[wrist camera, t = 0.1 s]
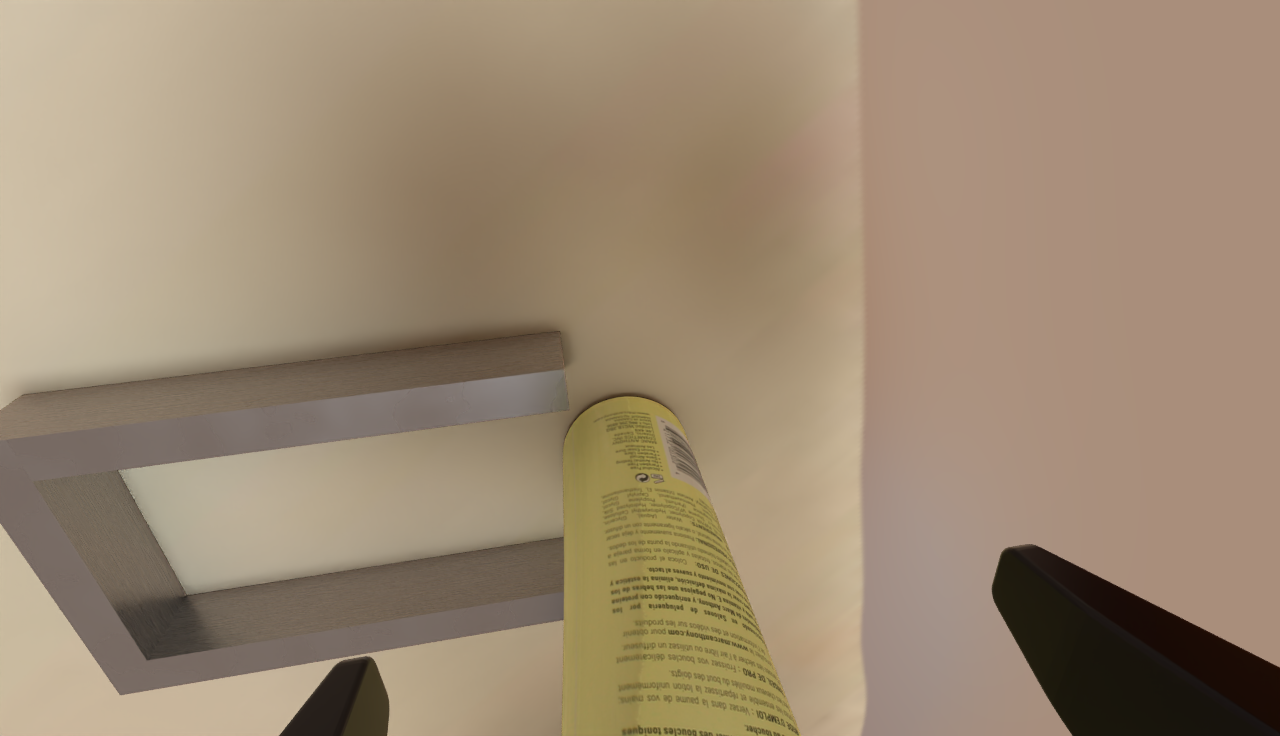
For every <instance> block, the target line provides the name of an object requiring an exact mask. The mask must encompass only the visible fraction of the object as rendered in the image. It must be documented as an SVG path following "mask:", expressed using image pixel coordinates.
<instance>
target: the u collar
mask: <svg viewBox="0 0 1280 736" xmlns="http://www.w3.org/2000/svg"><path fill="white" fill-rule="evenodd" d="M565 410H569V403H568V394H567V385H566V376H565V367H564V360H563V352H562V345H561V337H560V331H557V332H548V333H540V334H531V335H523V336H515V337H506V338H498V339H489V340H481V341H473V342H464V343H456V344H447V345H439V346H431V347H422V348H414V349H405V350H397V351H389V352H380V353H372V354H363V355H355V356H347V357H338V358H330V359H321V360H313V361H305V362H296V363H288V364H279V365H271V366H263V367H254V368H246V369H237V370H229V371H221V372H212V373H204V374H195V375H187V376H179V377H170V378H162V379H153V380H145V381H137V382H128V383H120V384H111V385H103V386H95V387H86V388H78V389H69V390H61V391H53V392H44V393H36V394H27V395H22V396H20V397H19V398H17V399H16V400H14V401H13V402H12V403H10V404H9V405H7V406H6V407H4V408H3V409H1V410H0V523H1V525H2V526H3V527H4V529H5V530H6V532H7V533H8V535H9V536H10V538H11V539H12V540H13V542H14V543H15V545H16V546H17V548H18V549H19V550H20V552H21V553H22V555H23V556H24V558H25V559H26V561H27V562H28V563H29V565H30V566H31V568H32V569H33V571H34V572H35V573H36V575H37V576H38V578H39V579H40V581H41V582H42V584H43V585H44V586H45V588H46V589H47V591H48V592H49V594H50V595H51V596H52V598H53V599H54V601H55V602H56V604H57V605H58V607H59V608H60V609H61V611H62V612H63V614H64V615H65V617H66V618H67V619H68V621H69V622H70V624H71V625H72V627H73V628H74V630H75V631H76V632H77V634H78V635H79V637H80V638H81V640H82V641H83V642H84V644H85V645H86V647H87V648H88V650H89V651H90V653H91V654H92V655H93V657H94V658H95V660H96V661H97V663H98V664H99V665H100V667H101V668H102V670H103V671H104V673H105V674H106V676H107V677H108V678H109V680H110V681H111V683H112V684H113V686H114V687H115V688H116V690H117V691H118V693H119V694H120V695H125V694H130V693H136V692H142V691H148V690H154V689H160V688H166V687H172V686H177V685H183V684H189V683H195V682H201V681H207V680H213V679H219V678H225V677H230V676H236V675H242V674H248V673H254V672H260V671H266V670H272V669H277V668H283V667H289V666H295V665H301V664H307V663H313V662H319V661H324V660H330V659H336V658H342V657H348V656H354V655H360V654H366V653H372V652H377V651H383V650H389V649H395V648H401V647H407V646H413V645H419V644H424V643H430V642H436V641H442V640H448V639H454V638H460V637H466V636H472V635H477V634H483V633H489V632H495V631H501V630H507V629H513V628H519V627H524V626H530V625H536V624H542V623H548V622H554V621H560V620H564V537H562V538H555V539H549V540H543V541H536V542H530V543H523V544H517V545H510V546H504V547H497V548H491V549H485V550H478V551H472V552H465V553H459V554H452V555H446V556H440V557H433V558H427V559H420V560H414V561H407V562H401V563H395V564H388V565H382V566H375V567H369V568H362V569H356V570H350V571H343V572H337V573H330V574H324V575H317V576H311V577H305V578H298V579H292V580H285V581H279V582H272V583H266V584H260V585H253V586H247V587H240V588H234V589H227V590H221V591H214V592H208V593H202V594H195V595H189V596H187V595H186V593H185V591H184V590H183V588H182V586H181V584H180V582H179V581H178V579H177V577H176V575H175V573H174V572H173V570H172V568H171V566H170V564H169V563H168V561H167V559H166V557H165V555H164V554H163V552H162V550H161V548H160V546H159V545H158V543H157V541H156V539H155V537H154V536H153V534H152V532H151V530H150V528H149V527H148V525H147V523H146V521H145V519H144V518H143V516H142V514H141V512H140V510H139V509H138V507H137V505H136V503H135V501H134V500H133V498H132V496H131V494H130V492H129V490H128V489H127V487H126V485H125V483H124V481H123V480H122V478H121V476H120V474H119V472H118V471H117V470H122V469H130V468H137V467H145V466H152V465H160V464H167V463H175V462H182V461H190V460H197V459H205V458H213V457H220V456H228V455H235V454H243V453H250V452H258V451H265V450H273V449H280V448H288V447H295V446H303V445H310V444H318V443H325V442H333V441H340V440H348V439H355V438H363V437H370V436H378V435H385V434H393V433H400V432H408V431H415V430H423V429H430V428H438V427H445V426H453V425H460V424H468V423H475V422H483V421H490V420H498V419H505V418H513V417H520V416H528V415H535V414H543V413H550V412H558V411H565Z"/></svg>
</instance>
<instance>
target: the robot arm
mask: <svg viewBox="0 0 1280 736" xmlns="http://www.w3.org/2000/svg"><path fill="white" fill-rule="evenodd" d="M992 595H993V599H994V602H995V604H996V606H997V608H998V610H999V612H1000V613H1001V615H1002V617H1003V619H1004V621H1005V622H1006V624H1007V626H1008V628H1009V630H1010V631H1011V633H1012V635H1013V637H1014V639H1015V640H1016V642H1017V644H1018V646H1019V648H1020V649H1021V651H1022V653H1023V655H1024V656H1025V658H1026V660H1027V662H1028V664H1029V666H1030V667H1031V669H1032V671H1033V673H1034V675H1035V676H1036V678H1037V680H1038V682H1039V683H1040V685H1041V687H1042V689H1043V690H1044V692H1045V694H1046V696H1047V697H1048V699H1049V701H1050V702H1051V704H1052V705H1053V707H1054V709H1055V710H1056V712H1057V713H1058V715H1059V716H1060V718H1061V719H1062V721H1063V722H1064V724H1065V725H1066V727H1067V728H1068V730H1069V731H1070V733H1071V734H1072V736H1280V667H1278V666H1276V665H1274V664H1272V663H1270V662H1268V661H1265V660H1264V659H1262V658H1260V657H1258V656H1256V655H1254V654H1252V653H1250V652H1248V651H1246V650H1244V649H1242V648H1240V647H1238V646H1236V645H1234V644H1232V643H1230V642H1228V641H1226V640H1224V639H1222V638H1220V637H1218V636H1216V635H1214V634H1212V633H1210V632H1208V631H1206V630H1204V629H1202V628H1200V627H1198V626H1196V625H1194V624H1192V623H1190V622H1188V621H1186V620H1184V619H1182V618H1180V617H1178V616H1176V615H1174V614H1172V613H1170V612H1168V611H1166V610H1164V609H1162V608H1160V607H1158V606H1156V605H1154V604H1152V603H1150V602H1148V601H1146V600H1144V599H1142V598H1140V597H1138V596H1136V595H1134V594H1132V593H1130V592H1128V591H1126V590H1124V589H1122V588H1120V587H1118V586H1116V585H1114V584H1112V583H1110V582H1108V581H1106V580H1104V579H1102V578H1100V577H1098V576H1096V575H1094V574H1092V573H1090V572H1088V571H1086V570H1085V569H1083V568H1081V567H1079V566H1076V565H1074V564H1073V563H1071V562H1069V561H1067V560H1064V559H1062V558H1060V557H1058V556H1057V555H1055V554H1052V553H1051V552H1049V551H1047V550H1045V549H1043V548H1041V547H1038V546H1036V545H1032V544H1025V545H1019V546H1013V547H1008V548H1006V549H1004V550H1003V551H1002V553H1001V555H1000V559H999V562H998V566H997V569H996V573H995V577H994V580H993V584H992ZM388 721H389V699H388V694H387V691H386V689H385V686H384V684H383V681H382V678H381V676H380V673H379V671H378V668H377V665H376V663H375V661H374V659H372V658H371V657H367V656H365V657H359V658H354V659H348V660H343V661H341V662H339V663H338V664H336V665H335V666H334V667H333V668H332V670H331V671H330V672H329V673H328V675H327V676H326V677H325V679H324V680H323V681H322V682H321V684H320V685H319V686H318V687H317V689H316V690H315V691H314V692H313V694H312V695H311V696H310V697H309V699H308V700H307V701H306V702H305V704H304V705H303V706H302V708H301V709H300V710H299V711H298V713H297V714H296V715H295V716H294V718H293V719H292V720H291V721H290V723H289V724H288V725H287V726H286V728H285V729H284V730H283V732H282V733H281V734H280V735H279V736H387V732H388Z"/></svg>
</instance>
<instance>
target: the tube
mask: <svg viewBox="0 0 1280 736" xmlns="http://www.w3.org/2000/svg"><path fill="white" fill-rule="evenodd" d="M563 507H564V645H563V694H562V736H801V734H800V732H799V729H798V727H797V724H796V721H795V719H794V716H793V714H792V711H791V709H790V706H789V704H788V701H787V698H786V696H785V693H784V691H783V688H782V686H781V683H780V680H779V678H778V675H777V673H776V670H775V667H774V665H773V662H772V660H771V657H770V655H769V652H768V649H767V647H766V644H765V642H764V639H763V637H762V634H761V631H760V629H759V626H758V624H757V621H756V618H755V616H754V613H753V611H752V608H751V605H750V603H749V600H748V598H747V595H746V592H745V590H744V587H743V584H742V582H741V579H740V576H739V574H738V571H737V569H736V566H735V563H734V561H733V558H732V555H731V553H730V550H729V548H728V545H727V542H726V540H725V537H724V534H723V532H722V529H721V527H720V524H719V521H718V519H717V516H716V513H715V511H714V508H713V505H712V503H711V500H710V497H709V494H708V492H707V489H706V486H705V484H704V481H703V479H702V476H701V473H700V471H699V468H698V466H697V463H696V460H695V457H694V455H693V452H692V450H691V447H690V445H689V442H688V439H687V437H686V434H685V432H684V430H683V427H682V425H681V424H680V422H679V420H678V419H677V418H676V417H675V415H674V414H673V413H672V412H671V411H670V410H668V409H667V408H666V407H664V406H662V405H661V404H659V403H657V402H654V401H652V400H648V399H645V398H640V397H628V396H625V397H617V398H613V399H608V400H605V401H602V402H600V403H598V404H595V405H593V406H592V407H590V408H589V409H587V410H586V411H585V412H583V413H582V414H581V415H580V416H579V417H578V418H577V419H576V420H575V421H574V423H573V424H572V426H571V427H570V429H569V431H568V433H567V436H566V438H565V442H564V446H563Z"/></svg>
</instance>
